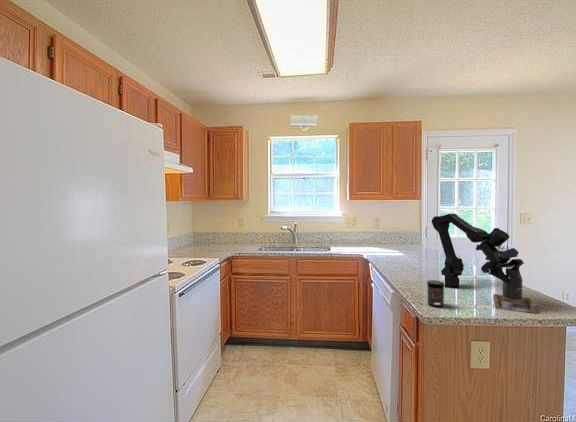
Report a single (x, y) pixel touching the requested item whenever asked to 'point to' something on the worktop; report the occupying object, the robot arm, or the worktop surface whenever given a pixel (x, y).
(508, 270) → the supplement bottle
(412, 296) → the worktop surface
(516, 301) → the bay
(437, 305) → the supplement container
